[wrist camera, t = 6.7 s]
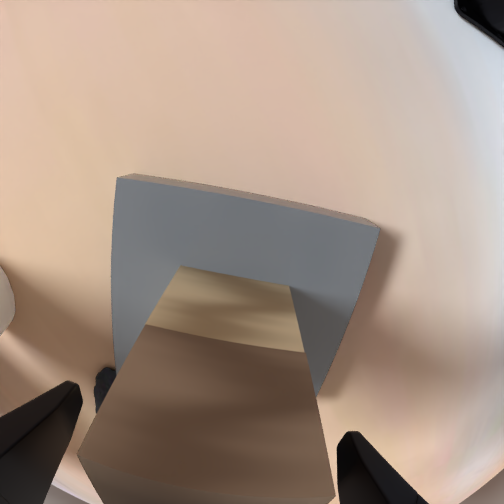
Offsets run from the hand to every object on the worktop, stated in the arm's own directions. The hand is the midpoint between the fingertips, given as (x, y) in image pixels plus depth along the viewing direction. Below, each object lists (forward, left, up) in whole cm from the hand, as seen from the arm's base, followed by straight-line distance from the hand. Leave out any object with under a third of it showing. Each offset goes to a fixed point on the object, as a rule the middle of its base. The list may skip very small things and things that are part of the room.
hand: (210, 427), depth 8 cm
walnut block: (0, 0, -2) cm, 2 cm away
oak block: (0, 0, -6) cm, 7 cm away
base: (0, 0, -8) cm, 8 cm away
